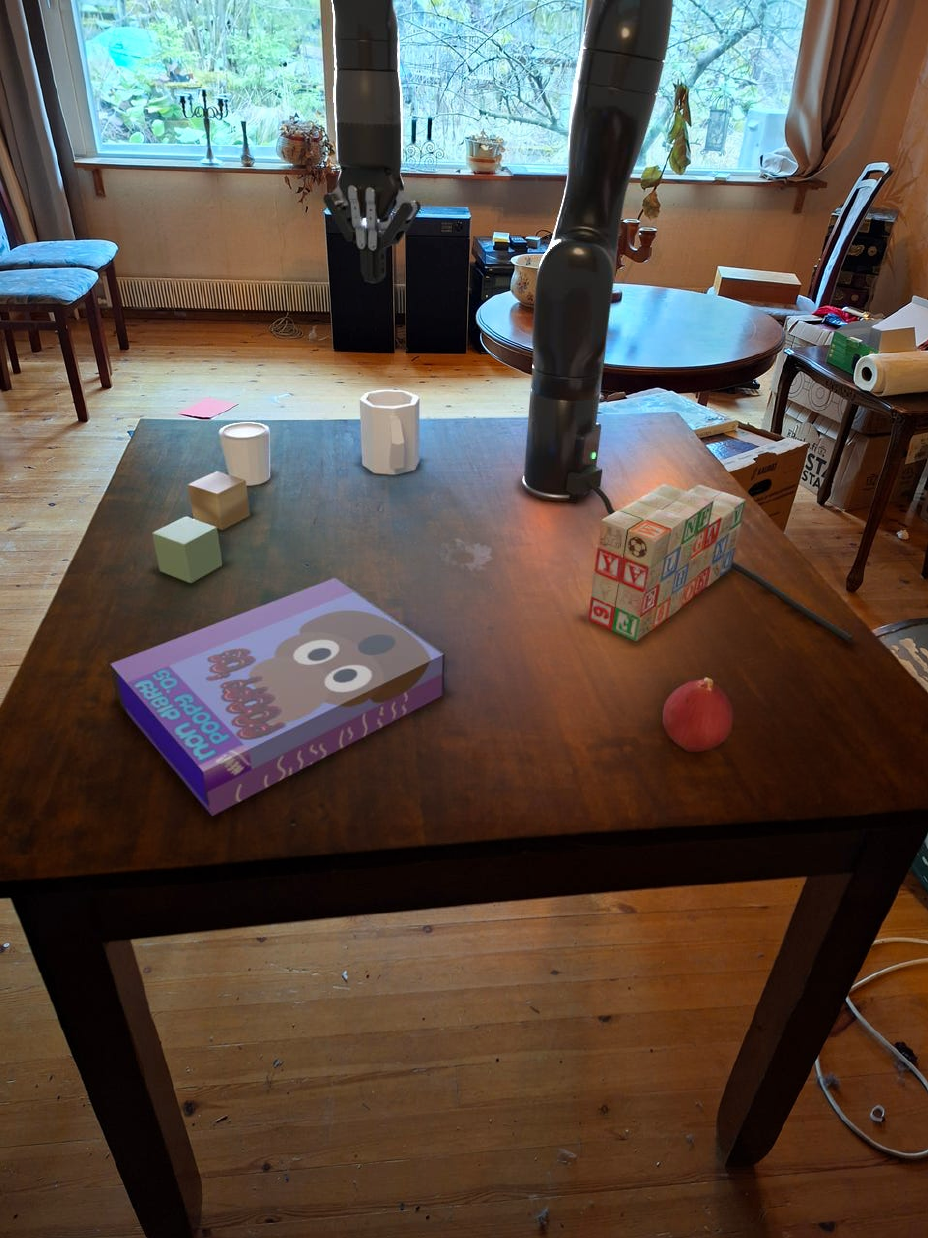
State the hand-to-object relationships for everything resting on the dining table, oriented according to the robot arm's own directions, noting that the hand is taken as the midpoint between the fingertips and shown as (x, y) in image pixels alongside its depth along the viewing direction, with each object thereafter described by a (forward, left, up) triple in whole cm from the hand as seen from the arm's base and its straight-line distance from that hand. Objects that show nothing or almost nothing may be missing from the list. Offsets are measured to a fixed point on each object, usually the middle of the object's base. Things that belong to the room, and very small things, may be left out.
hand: (373, 281), depth 103 cm
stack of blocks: (-44, +7, -27) cm, 52 cm away
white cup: (+16, +9, -27) cm, 33 cm away
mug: (+1, -5, -27) cm, 28 cm away
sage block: (+4, +32, -27) cm, 42 cm away
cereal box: (-24, +33, -25) cm, 48 cm away
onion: (-55, +31, -27) cm, 69 cm away
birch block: (+10, +20, -27) cm, 35 cm away
